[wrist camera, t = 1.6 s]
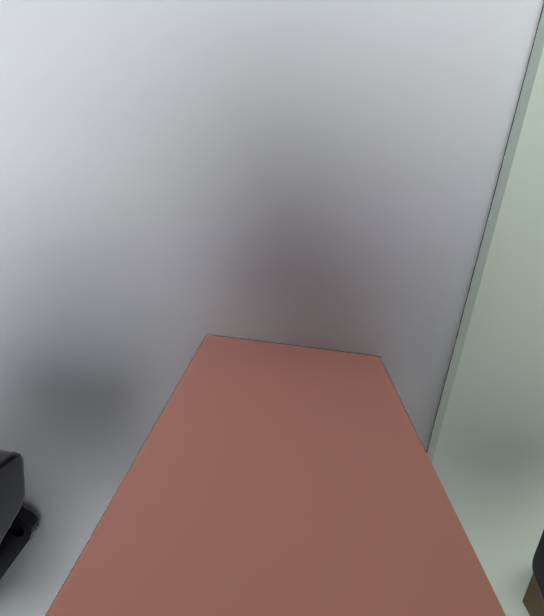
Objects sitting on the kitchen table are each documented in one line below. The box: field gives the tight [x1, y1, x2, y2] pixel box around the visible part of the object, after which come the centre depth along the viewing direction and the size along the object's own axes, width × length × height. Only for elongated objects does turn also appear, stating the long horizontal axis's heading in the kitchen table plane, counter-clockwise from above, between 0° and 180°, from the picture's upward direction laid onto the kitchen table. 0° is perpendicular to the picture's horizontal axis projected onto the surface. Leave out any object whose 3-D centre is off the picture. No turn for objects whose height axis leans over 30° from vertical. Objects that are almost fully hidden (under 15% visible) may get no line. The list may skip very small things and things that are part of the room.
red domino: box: [46, 334, 506, 616], centre depth 8 cm, size 2×5×10 cm, turn 83°
